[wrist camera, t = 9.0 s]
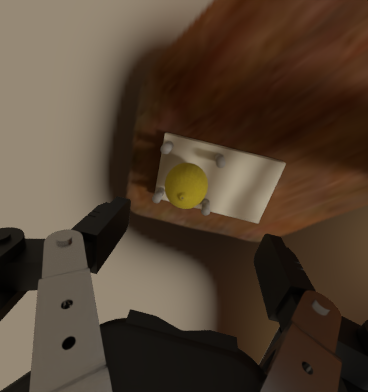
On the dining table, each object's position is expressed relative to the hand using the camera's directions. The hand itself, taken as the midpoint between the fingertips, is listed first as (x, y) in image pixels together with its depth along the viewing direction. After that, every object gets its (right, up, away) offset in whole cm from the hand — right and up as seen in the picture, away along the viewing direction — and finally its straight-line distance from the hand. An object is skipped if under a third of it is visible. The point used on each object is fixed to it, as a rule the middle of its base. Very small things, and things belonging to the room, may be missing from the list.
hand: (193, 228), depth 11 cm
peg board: (+4, +5, +18) cm, 20 cm away
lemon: (0, +5, +17) cm, 18 cm away
